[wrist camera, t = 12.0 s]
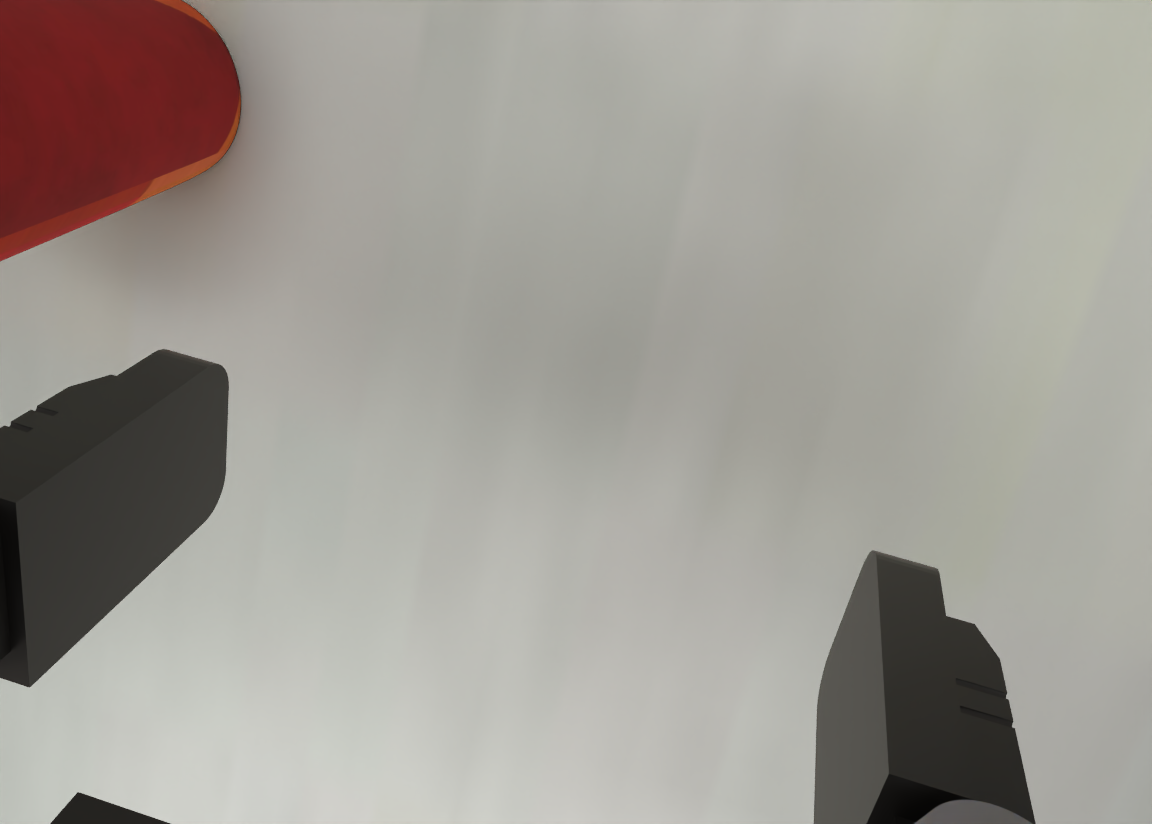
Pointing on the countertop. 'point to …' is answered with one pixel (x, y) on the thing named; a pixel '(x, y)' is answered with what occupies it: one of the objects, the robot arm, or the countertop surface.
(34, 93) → the paper cup
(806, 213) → the countertop surface
